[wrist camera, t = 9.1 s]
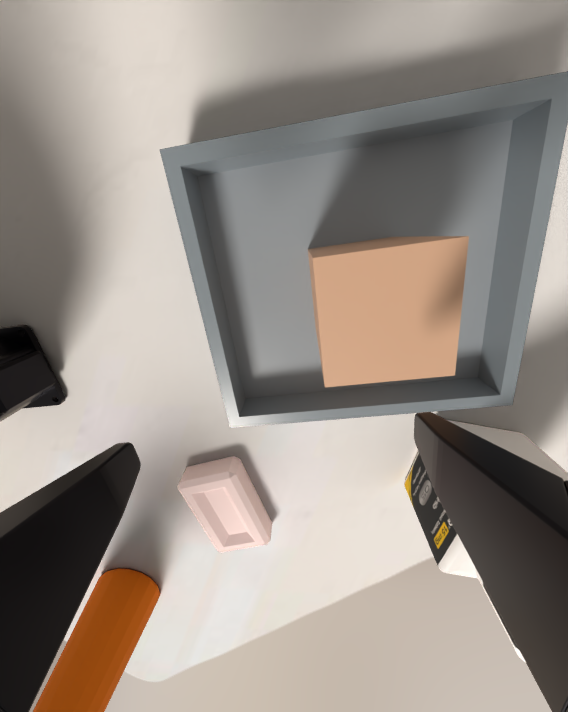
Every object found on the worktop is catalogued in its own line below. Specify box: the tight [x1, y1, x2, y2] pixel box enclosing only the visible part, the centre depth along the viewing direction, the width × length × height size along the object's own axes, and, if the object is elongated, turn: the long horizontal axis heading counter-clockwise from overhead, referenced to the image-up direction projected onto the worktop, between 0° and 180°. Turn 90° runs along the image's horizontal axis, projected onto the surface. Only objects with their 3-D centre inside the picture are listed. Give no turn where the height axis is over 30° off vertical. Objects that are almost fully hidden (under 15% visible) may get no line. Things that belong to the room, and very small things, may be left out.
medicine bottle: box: [404, 420, 568, 662], centre depth 18 cm, size 7×7×12 cm
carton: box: [308, 236, 469, 387], centre depth 14 cm, size 5×5×8 cm
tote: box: [160, 71, 568, 428], centre depth 17 cm, size 18×16×3 cm
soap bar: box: [177, 456, 272, 552], centre depth 25 cm, size 5×9×2 cm, turn 19°
